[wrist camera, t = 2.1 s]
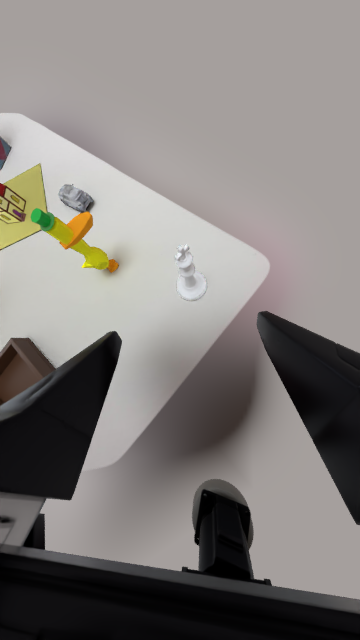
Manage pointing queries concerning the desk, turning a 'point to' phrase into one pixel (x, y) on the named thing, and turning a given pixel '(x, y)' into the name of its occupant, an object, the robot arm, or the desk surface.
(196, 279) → the chess piece
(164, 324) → the desk surface
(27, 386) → the dark tray
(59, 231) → the toy figure
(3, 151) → the milk carton
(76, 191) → the toy car
